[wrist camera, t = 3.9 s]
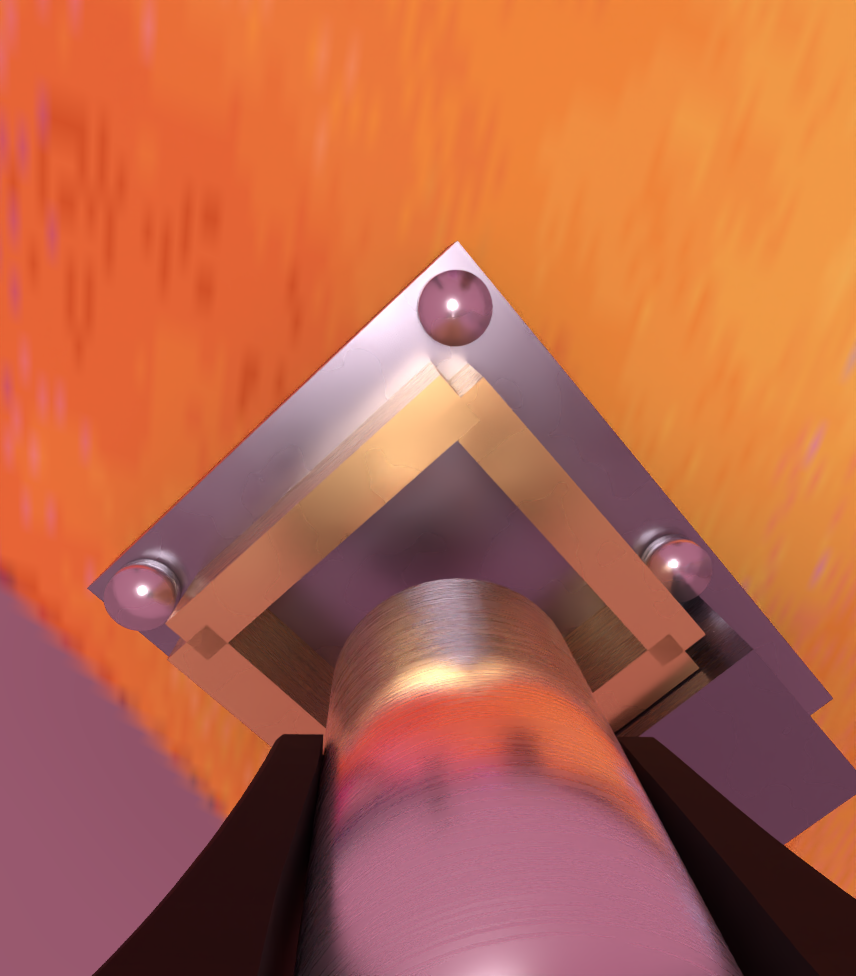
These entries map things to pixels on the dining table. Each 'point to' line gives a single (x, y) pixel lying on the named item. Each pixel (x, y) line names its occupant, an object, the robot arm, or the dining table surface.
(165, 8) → the dining table surface
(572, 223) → the dining table surface
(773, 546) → the dining table surface
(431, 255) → the dining table surface
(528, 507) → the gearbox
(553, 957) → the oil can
